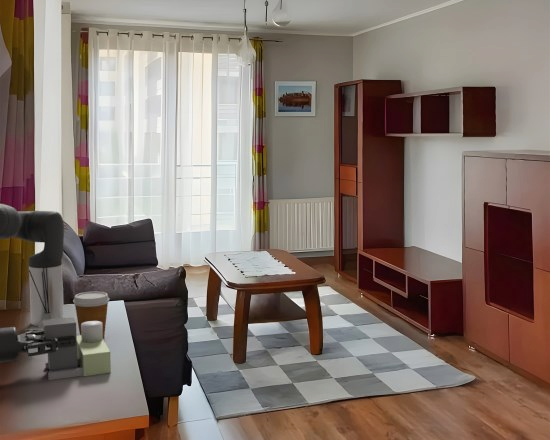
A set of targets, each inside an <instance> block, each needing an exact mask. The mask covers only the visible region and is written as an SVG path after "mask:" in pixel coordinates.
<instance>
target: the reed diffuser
mask: <svg viewBox="0 0 550 440" xmlns="http://www.w3.org/2000/svg"><path fill="white" fill-rule="evenodd" d="M29 272H30V270H29V269H28V273H29ZM43 274H44V279H43ZM30 275H31V272H30ZM31 277H32V275H31ZM42 279H43V289H44V298H45V289H46V281H45V273H44V268H43V272H42ZM46 279H47V289H46V297H47V305H48V312H47V308H46V298H45V306H44V304H43V301H42V299H41V297H40V294H39V292H38V289H37V287H36V284H35V282H34V279H33V277H32V280H33V282H34V285H35V287H36V290H37V292H38V294H39V297H40V299H41V302H42V304H43V307H44V309H45V308H46V309H45V312H44V319H43V320H50V319H51V312H49V301H48V278H47V266H46ZM44 281H45V288H44ZM43 320H42V321H41V322H40V323H39V325H38V326H37V329H39V328H43Z"/></svg>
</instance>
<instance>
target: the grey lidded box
mask: <svg viewBox="0 0 550 440" xmlns="http://www.w3.org/2000/svg"><path fill="white" fill-rule="evenodd" d="M43 332H44V335H45V336H47V337H48V338H55V337H56V338H58V337H68V336H75V338H76V345H75V346H71V347H62V348H59V347H58V349H57V350H56V352H52V353H47V361H48V367H49V369H48V370H49V371H48V372H51V371H59V370H67V369H74V368H79V365H77V335H78V334H77V321H76V319H75V317H74V316H70V317H64V318H60V319H50V320H43ZM49 346H50V344H49Z"/></svg>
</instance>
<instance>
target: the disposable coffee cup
mask: <svg viewBox="0 0 550 440" xmlns="http://www.w3.org/2000/svg"><path fill="white" fill-rule="evenodd" d="M109 301H110V297H109V295H108V293H107V292H104V291H86V292H80V293H77V294H75V295H74V298H73V300H72V302H73V304H74V306H75V312H76V313H75V314H76V319H77V325H78V331H79V335H81V324H82V323H84V322H88V321H100V322H102V327H103V339H104V338H105V333H106V332H105V331H106V325H107V323H106V322H107V314H108V313H107V312H108V307H109V306H108V304H109Z"/></svg>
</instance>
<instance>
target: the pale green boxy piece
mask: <svg viewBox="0 0 550 440" xmlns="http://www.w3.org/2000/svg"><path fill="white" fill-rule="evenodd" d="M76 335H77V366H79V367H78V368H74V369H67V370H59V371H51V372H50V371H47V378H48V380H49V381H53V380H59V379H60V380H61V379H67V378H74V377H75V378H76V377H81V376H83V377H87V376H88V377H89V376H95V375H96V376H97V375H103V374H104V375H105V374H110V373H112V372H111V371H112V370H111V369H112V368H111V366H112V365H111V362H112V361H111V350H110V349H109V347H108V345H107V343H106V342H105V340H104V338H103V327H102V322H100V321H88V322H84V323H82V324H81V335H80V334H79V335H78V334H76ZM45 370H49V367H48V360H46V361H45Z"/></svg>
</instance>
